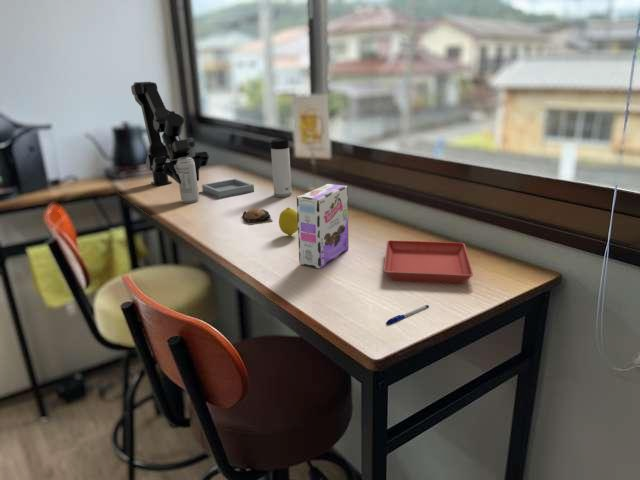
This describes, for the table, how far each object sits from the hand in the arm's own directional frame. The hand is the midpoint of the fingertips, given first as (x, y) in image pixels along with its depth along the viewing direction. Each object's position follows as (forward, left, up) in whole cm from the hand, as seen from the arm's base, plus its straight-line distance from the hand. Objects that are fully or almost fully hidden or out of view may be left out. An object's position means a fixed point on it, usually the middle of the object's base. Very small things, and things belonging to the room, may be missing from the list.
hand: (189, 181), depth 162 cm
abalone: (+32, +7, -8) cm, 34 cm away
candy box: (+70, +4, -7) cm, 70 cm away
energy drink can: (-1, 0, -7) cm, 7 cm away
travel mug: (+15, +28, -7) cm, 33 cm away
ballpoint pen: (+102, -2, -8) cm, 102 cm away
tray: (-4, +16, -7) cm, 18 cm away
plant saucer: (+90, +17, -8) cm, 92 cm away
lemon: (+52, +6, -7) cm, 53 cm away
